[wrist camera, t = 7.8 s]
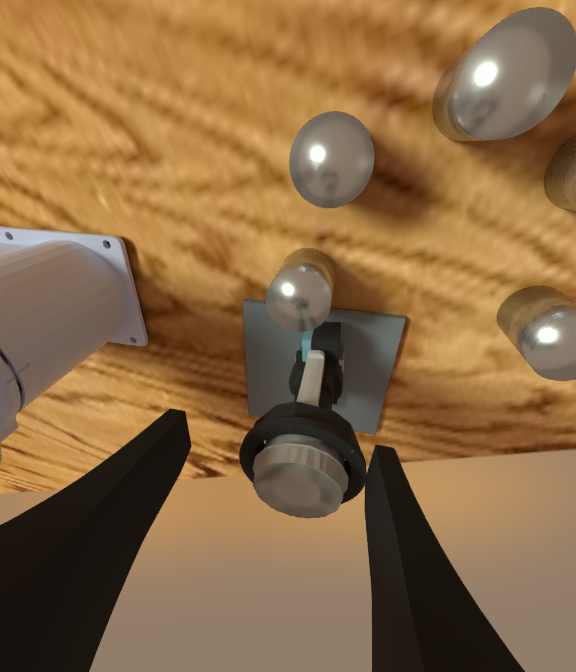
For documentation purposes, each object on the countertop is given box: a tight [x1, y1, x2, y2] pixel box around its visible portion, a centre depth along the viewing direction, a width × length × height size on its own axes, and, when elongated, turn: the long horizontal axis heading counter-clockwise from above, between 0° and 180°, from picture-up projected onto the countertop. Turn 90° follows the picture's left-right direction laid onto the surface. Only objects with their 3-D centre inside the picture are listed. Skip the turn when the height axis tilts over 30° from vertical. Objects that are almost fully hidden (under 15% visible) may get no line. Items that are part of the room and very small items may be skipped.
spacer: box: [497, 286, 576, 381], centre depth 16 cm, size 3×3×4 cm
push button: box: [239, 322, 366, 518], centre depth 17 cm, size 7×5×10 cm
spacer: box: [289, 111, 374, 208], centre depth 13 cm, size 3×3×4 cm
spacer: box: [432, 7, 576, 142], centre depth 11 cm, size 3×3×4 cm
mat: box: [243, 299, 406, 435], centre depth 22 cm, size 10×10×1 cm
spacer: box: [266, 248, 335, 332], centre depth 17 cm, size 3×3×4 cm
